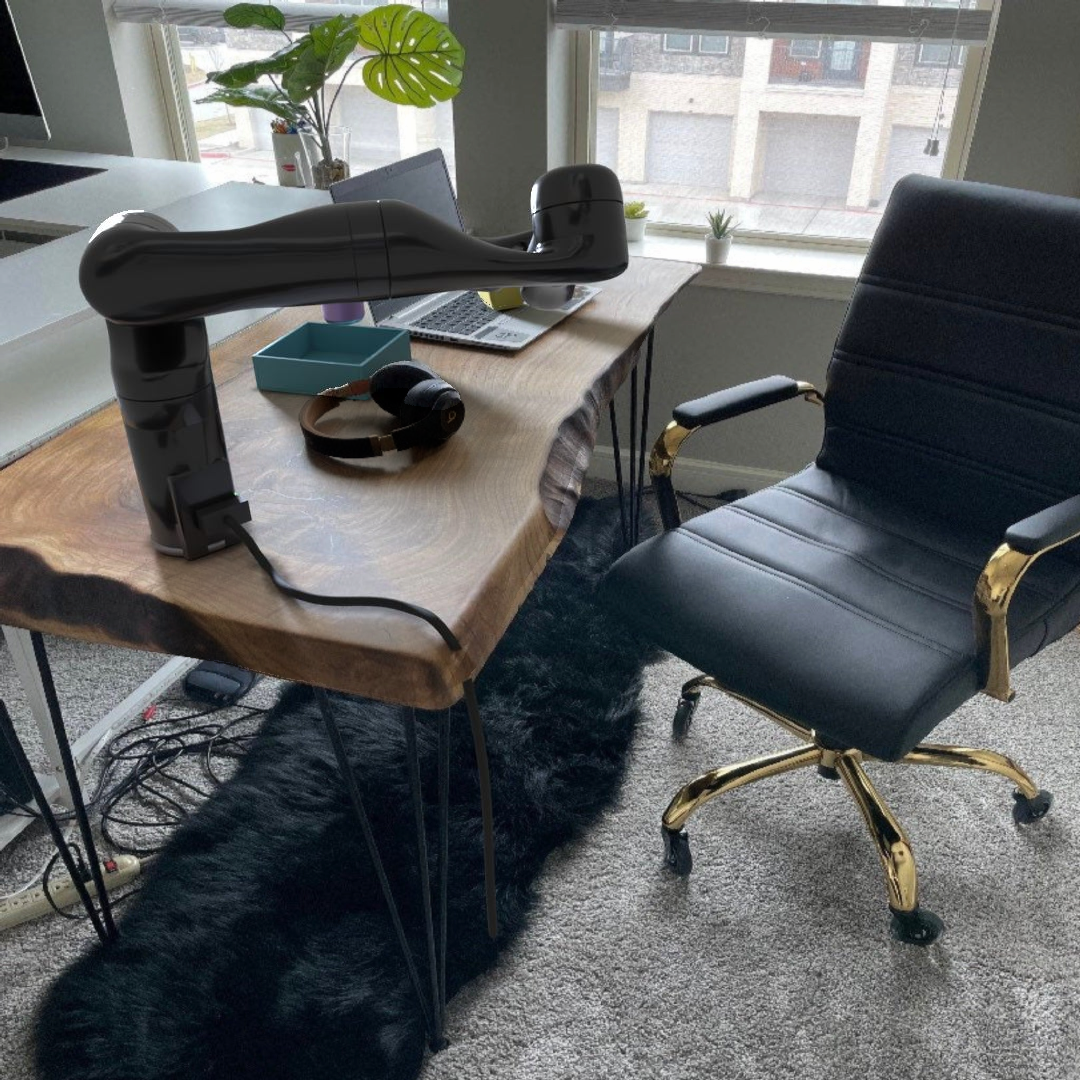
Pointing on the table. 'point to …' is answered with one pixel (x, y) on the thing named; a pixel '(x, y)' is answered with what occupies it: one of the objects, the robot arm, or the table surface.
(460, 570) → the table surface
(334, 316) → the beverage can
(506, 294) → the flower pot
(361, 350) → the box
